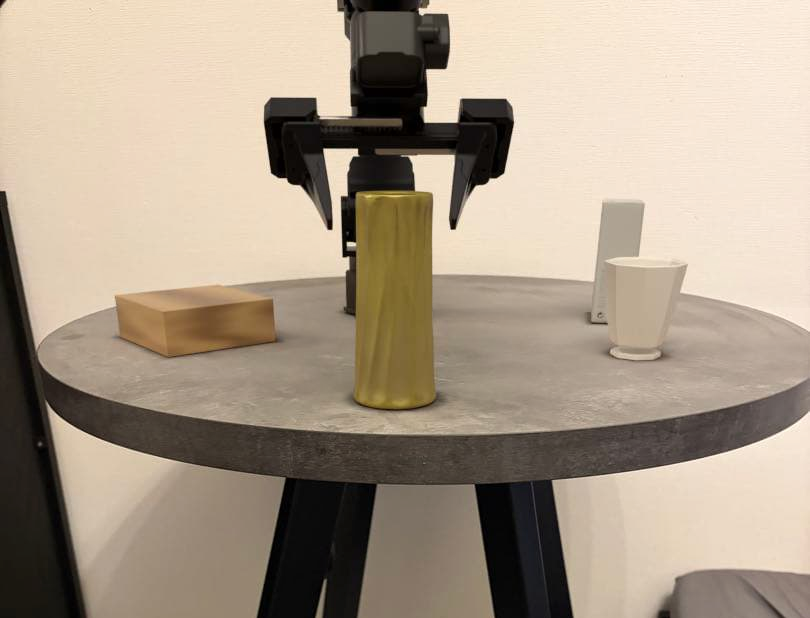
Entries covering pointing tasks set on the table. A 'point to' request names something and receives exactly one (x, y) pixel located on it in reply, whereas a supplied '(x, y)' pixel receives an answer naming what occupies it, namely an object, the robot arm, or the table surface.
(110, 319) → the table surface
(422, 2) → the robot arm
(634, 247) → the cosmetic box
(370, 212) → the vase
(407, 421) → the table surface
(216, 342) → the oak block
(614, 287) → the cup
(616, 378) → the table surface
